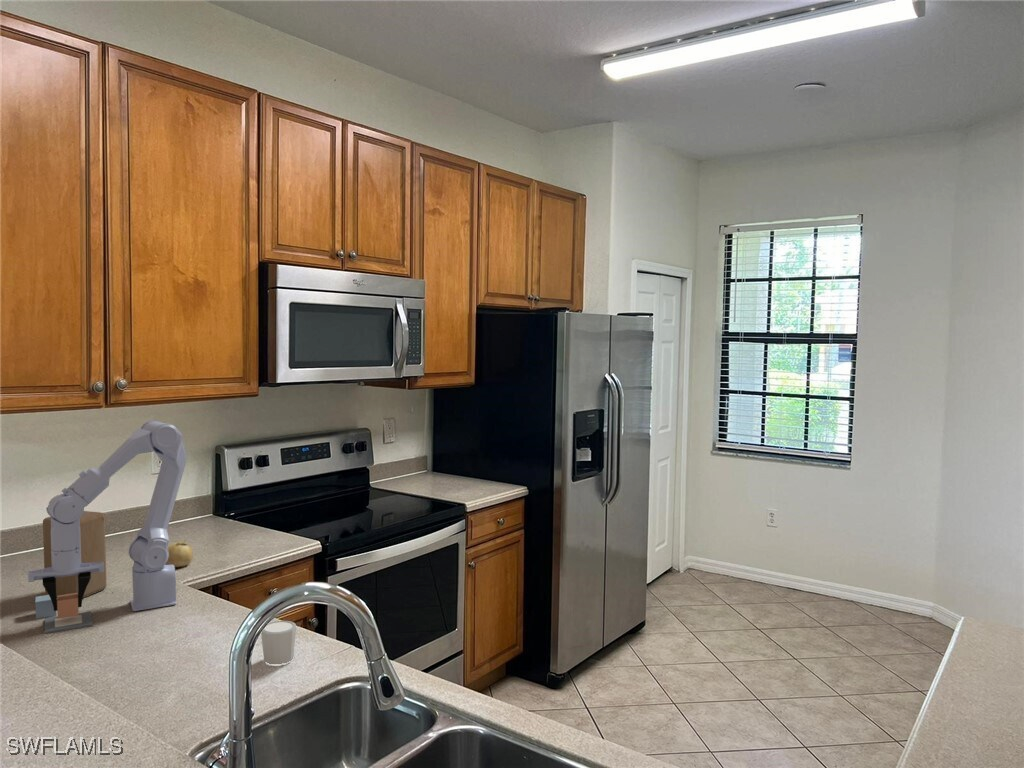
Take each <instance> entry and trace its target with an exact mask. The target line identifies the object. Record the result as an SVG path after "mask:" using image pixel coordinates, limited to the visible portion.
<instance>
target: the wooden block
mask: <svg viewBox="0 0 1024 768" xmlns="http://www.w3.org/2000/svg"><path fill="white" fill-rule="evenodd" d="M51 518H52V517H51V516H47V517H45V518H44V519H43V520H42V534H43V535H42V536H43V537H42V540H43V565H44V567H43V569H44V568H49V567H52V558H51ZM79 519H80V536H81V563H95V562H103V563H104V572H101V573H99V572H95V573H91V579H90V581H89V583H88V585H87V587H86V590H85V593H84V596H83V599H84V598H86V597H89V596H92V595H94V594H96V593H98V592H101V591H103V590H105V589H106V588H107V585H108V584H107V582H108V581H107V554H106V553H107V552H106V551H107V550H106V548H107V547H106V516H105V514H104V513H103V512H100V511H90V510H89V511H87V510H84V512H83V515H82V516H81V518H79ZM73 593H78V575H72V576H65V577H58V578H56V596H59V595H66V594H73ZM44 595H49V594H48V592H47V591H46V589H45V588H44Z"/></svg>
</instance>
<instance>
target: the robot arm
mask: <svg viewBox="0 0 1024 768" xmlns="http://www.w3.org/2000/svg"><path fill="white" fill-rule="evenodd" d="M183 439H184V436H183V433H181V432H180V430H179V429H178V428H177V427H176V426H175V425H173V424H171V423H164V422H161V421H159V420H149V421H146V422H144V423H143V424H142V425H141V427H140V428H137V429H136V430H135V431H133V432H132V433H131V435H130V436H129V437H128V438H127V439H126V440H125V441H124V442H123V443H122V444H121V445H120V446H119V447H118V448H117V449H116V450H115V451H114V452H113V453H112V454H111V455H110V456H109V457H108V458H106V459H105V461H104V462H102V463H101V465H100V466H99V467H96V468H88V470H86V471H85V470H81V472H80V473H79V474H78V476H79V477H78V478H76V480H74V482H72V484H70V486H68V487H64V488H63V489H62V490H61V492H62V493H60V494H57V495H55V496H53V497H52V498H51V499H50V500H49V501H48V504H47V507H45V510H46V513H47V514H48V515H49V516H48V517H52V518H51V558H52V567H49V568H44V567H43V568H41V569H35V570H29V571H28V573H27V579H28V583H34V582H35V581H42V586H43V587H44V590H45V589H46V591H47V592H48V594H49V596H50V598H51V601H52V604H53V608H54V611H56V612H57V596H56V578H58V577H65V576H72V575H78V608H82V604H83V600H84V598H83V596H84V593H85V590H86V587H87V585H88V583H89V581H90V579H91V573H95V572H99V573H101V572H104V563H103V562H95V563H81V536H80V519H79V518H81V516H82V515H83V512H84V511H85V507H87V506H89V505H90V504H91V503H92V502H93V501H94V500H95V499H96V498H97V497H98V496H99V495H101V494H102V493H103V492H104V491H105V490H106V489H107V488H108V487H109V486H110V479H111V477H113V476H114V475H115V474H116V473H117V472H119V471H120V470H121V469H122V468H123V467H124V466H126V464H128V463H129V462H131V461H132V460H133V459H134V458H135V457H137V456H138V455H140V454H147V453H153V452H154V453H155V454H156V456H157V457H158V458H159V459H160V461H161V465H160V469H159V470H158V471H159V472H158V474H157V477H156V482H155V485H154V490H153V493H152V496H151V499H150V504H149V506H148V510H147V513H146V517H145V520H144V524H143V525H142V527H141V528H140V529H139V530H138V531H137V534H136V537H135V539H134V540H133V541H132V542H131V543H130V545H129V548H128V555H129V559H131V560H132V561H133V565H132V567H131V571H132V574H131V575H132V598H131V599H130V600H129V602H130V605H131V610H132V611H133V612H137V611H144V610H149V609H157V608H163V607H169V606H174V605H177V584H176V583H177V581H176V580H177V577H176V567H174V565H166V562H167V561H168V558H169V552H168V546H169V542H170V537H169V534H168V529H169V524H170V520H171V517H172V515H173V514H172V513H173V509H174V508H175V507H174V506H175V503H176V499H177V496H178V492H179V489H180V487H181V486H180V485H181V481H182V478H183V475H184V471H185V468H186V464H187V459H188V456H187V452H186V448H185V445H184V442H183Z"/></svg>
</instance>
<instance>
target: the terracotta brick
mask: <svg viewBox="0 0 1024 768" xmlns="http://www.w3.org/2000/svg"><path fill="white" fill-rule="evenodd" d="M78 613H79V607H78V593H73V594H66V595H59V596H57V611H56V614H57V616H58V619H60V618H66V617H73V616H78Z"/></svg>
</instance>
